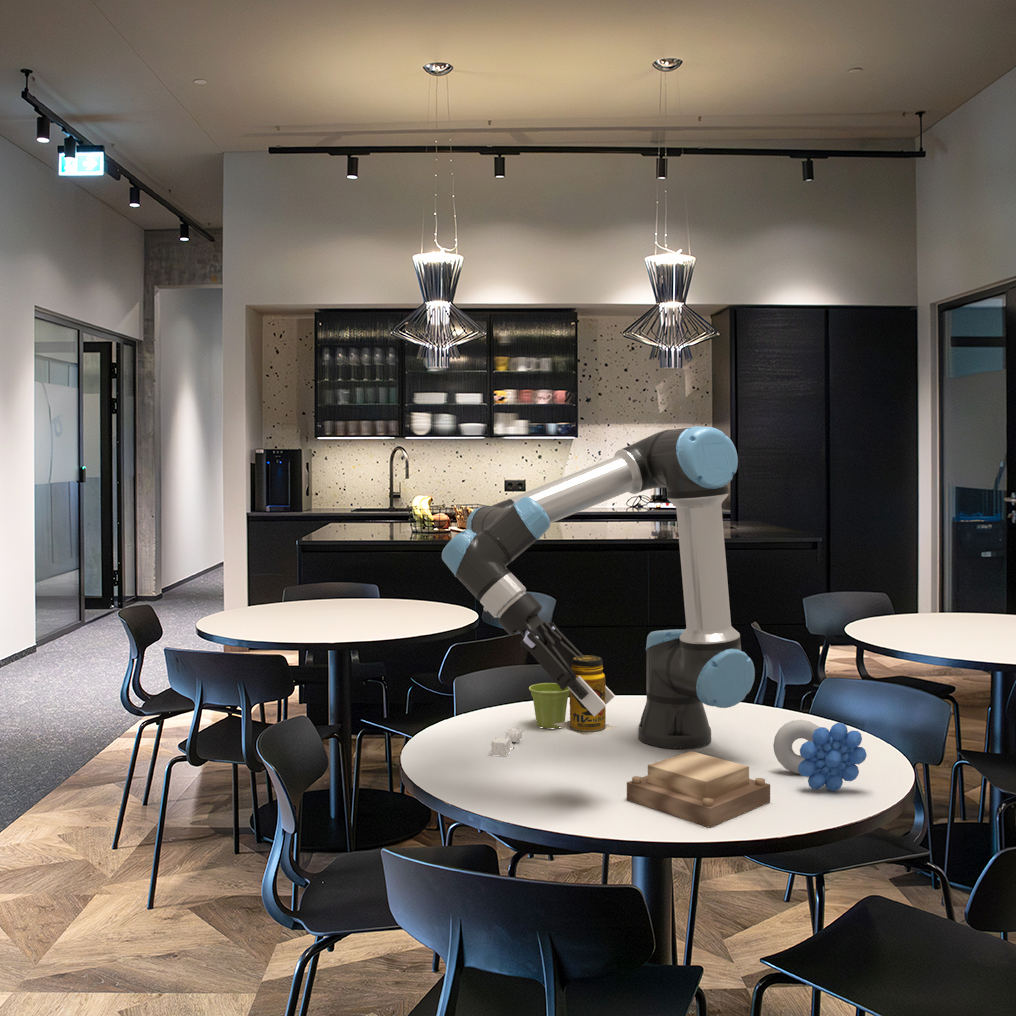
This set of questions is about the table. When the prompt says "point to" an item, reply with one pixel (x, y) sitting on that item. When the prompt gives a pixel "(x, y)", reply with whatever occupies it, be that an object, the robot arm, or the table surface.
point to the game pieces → (505, 742)
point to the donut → (786, 739)
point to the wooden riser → (699, 788)
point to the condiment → (579, 714)
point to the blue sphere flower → (831, 757)
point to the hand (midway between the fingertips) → (604, 705)
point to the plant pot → (549, 704)
